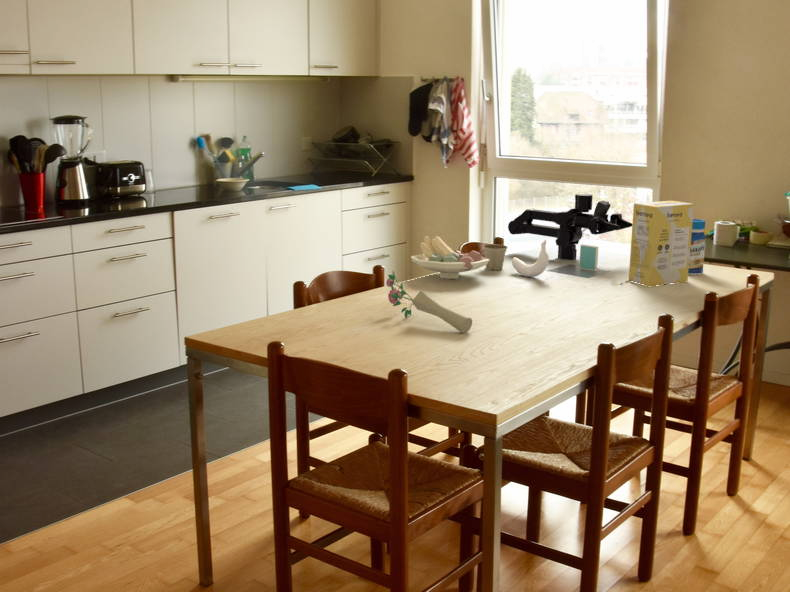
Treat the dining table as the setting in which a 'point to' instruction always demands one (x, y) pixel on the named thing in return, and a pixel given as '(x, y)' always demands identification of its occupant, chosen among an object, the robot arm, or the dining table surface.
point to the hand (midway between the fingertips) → (626, 226)
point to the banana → (534, 268)
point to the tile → (588, 257)
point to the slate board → (577, 271)
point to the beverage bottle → (697, 248)
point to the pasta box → (661, 242)
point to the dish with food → (447, 259)
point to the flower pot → (495, 256)
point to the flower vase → (428, 307)
